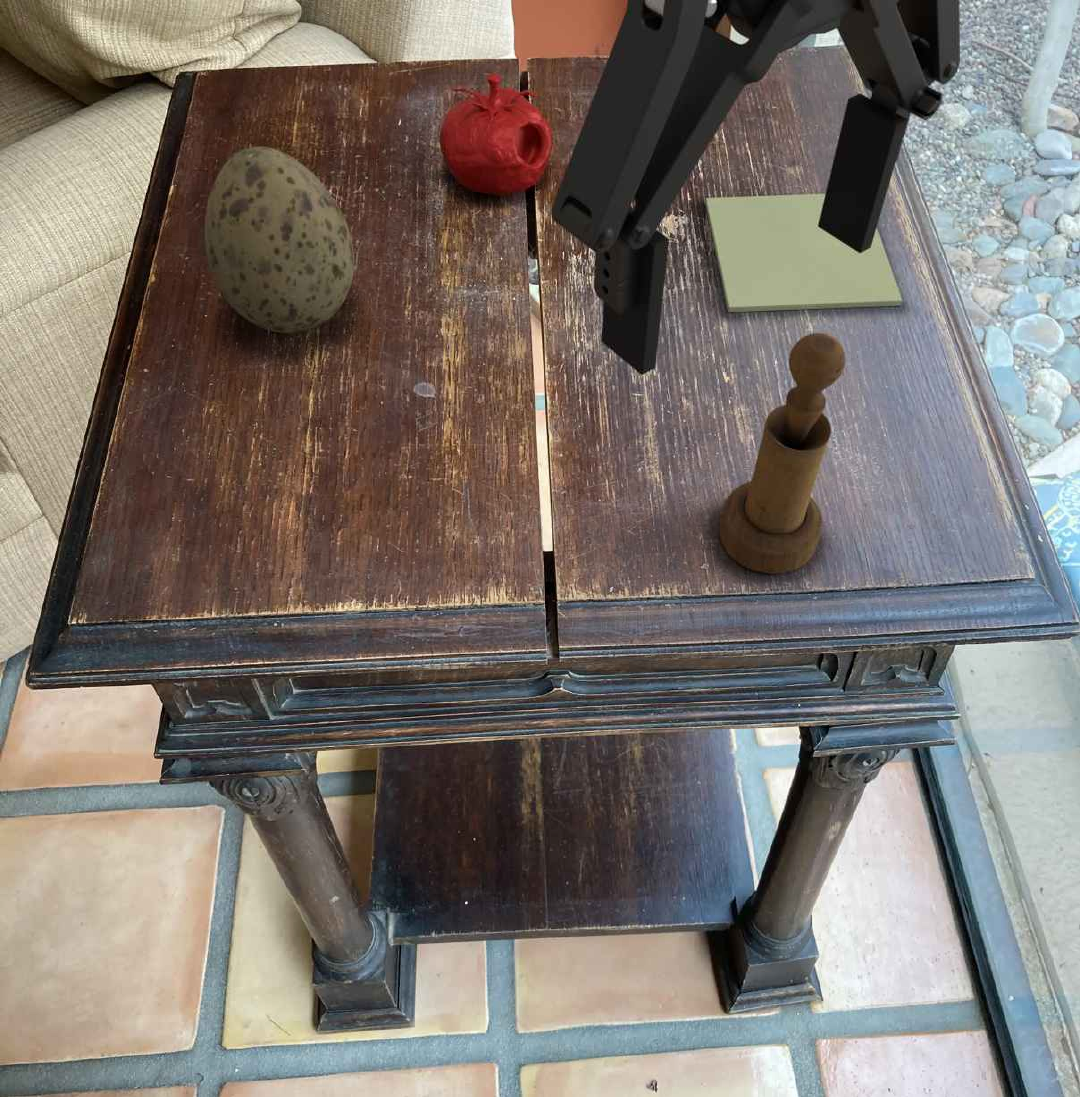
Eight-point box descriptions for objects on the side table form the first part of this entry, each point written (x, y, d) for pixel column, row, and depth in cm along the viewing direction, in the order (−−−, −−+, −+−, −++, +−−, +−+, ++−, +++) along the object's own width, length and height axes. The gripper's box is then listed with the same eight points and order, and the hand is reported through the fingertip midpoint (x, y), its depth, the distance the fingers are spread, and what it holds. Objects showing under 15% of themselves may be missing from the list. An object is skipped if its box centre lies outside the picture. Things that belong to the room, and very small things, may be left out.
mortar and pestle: (816, 503, 73) (882, 307, 58) (816, 580, 70) (887, 392, 55) (720, 493, 74) (762, 297, 59) (716, 569, 70) (759, 380, 55)
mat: (900, 305, 85) (902, 300, 84) (727, 312, 84) (728, 306, 84) (862, 197, 93) (864, 191, 92) (704, 203, 92) (705, 197, 92)
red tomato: (437, 208, 93) (426, 112, 85) (449, 141, 98) (440, 45, 91) (549, 211, 92) (548, 115, 84) (555, 143, 98) (555, 47, 90)
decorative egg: (210, 304, 86) (152, 140, 74) (329, 256, 89) (293, 92, 77) (264, 384, 81) (211, 222, 68) (388, 330, 84) (359, 166, 71)
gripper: (1007, -377, 37) (864, 161, 54) (424, -231, 28) (470, 362, 45) (1199, -332, 34) (982, 230, 51) (602, -147, 25) (580, 465, 41)
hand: (741, 293), depth 48 cm, fingers open, 13 cm apart
